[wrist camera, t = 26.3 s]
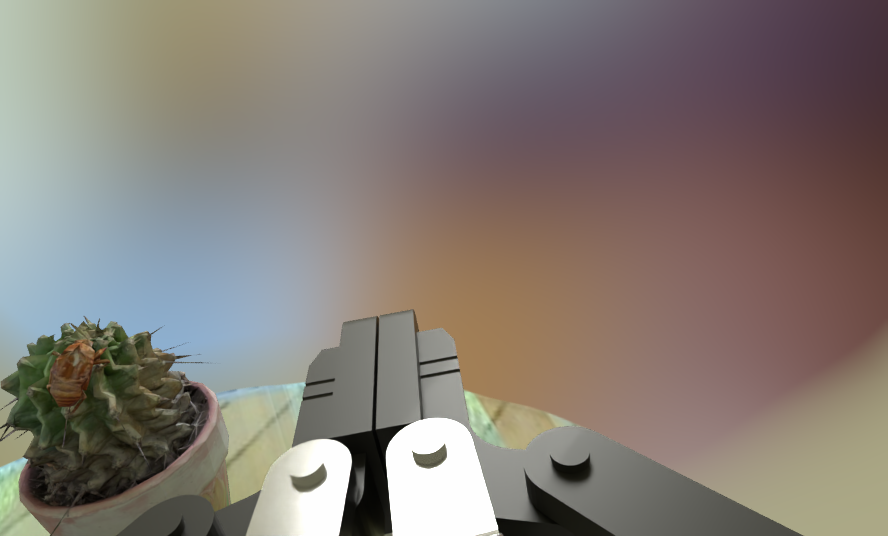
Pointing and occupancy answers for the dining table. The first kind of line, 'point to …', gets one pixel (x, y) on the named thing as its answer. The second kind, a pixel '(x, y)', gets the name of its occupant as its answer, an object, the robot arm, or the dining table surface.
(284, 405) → the dining table surface
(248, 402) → the dining table surface
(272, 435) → the dining table surface
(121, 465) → the potted plant
